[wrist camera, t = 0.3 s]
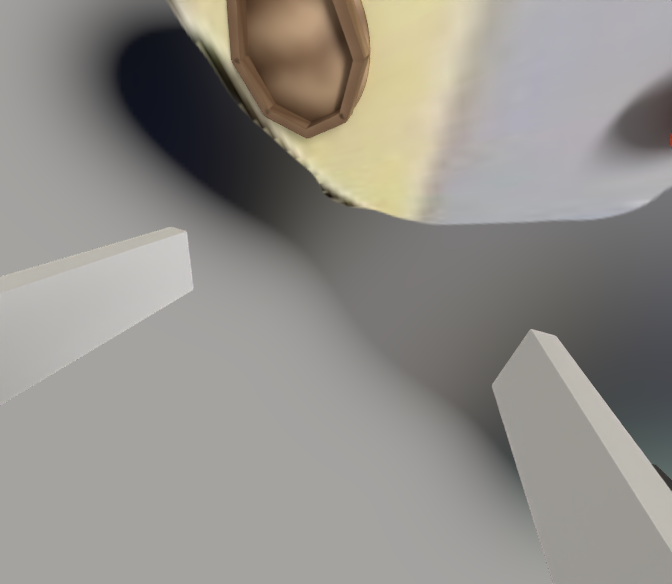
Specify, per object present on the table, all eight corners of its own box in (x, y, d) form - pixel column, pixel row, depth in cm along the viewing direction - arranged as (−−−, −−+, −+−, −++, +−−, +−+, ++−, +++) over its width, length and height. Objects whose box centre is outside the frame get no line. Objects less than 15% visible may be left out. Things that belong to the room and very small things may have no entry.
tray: (211, 3, 32) (197, 9, 30) (323, -128, 22) (309, -127, 20) (292, 142, 43) (284, 151, 42) (390, 99, 33) (384, 110, 31)
